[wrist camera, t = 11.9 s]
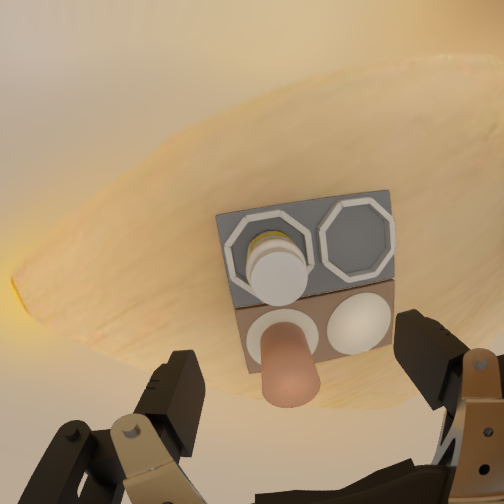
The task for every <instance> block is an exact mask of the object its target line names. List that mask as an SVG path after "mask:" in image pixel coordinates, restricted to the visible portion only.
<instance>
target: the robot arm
mask: <svg viewBox="0 0 504 504" xmlns="http://www.w3.org/2000/svg"><path fill="white" fill-rule="evenodd" d="M394 354H395V357H396V360H397V361H398V362H399V364H400V365H401V366H402V368H403V369H404V371H405V372H406V373H407V375H408V376H409V377H410V379H411V380H412V381H413V383H414V384H415V386H416V387H417V388H418V390H419V391H420V393H421V394H422V395H423V397H424V398H425V400H426V401H427V403H428V404H429V405H430V407H431V408H432V410H433V411H434V410H436V409H438V408H440V407H442V406H444V407H445V408H446V410H445V413H444V417H443V422H442V428H441V432H440V437H439V441H438V445H437V450H436V453H435V456H434V459H433V461H432V463H431V465H418V466H414V464H413V461H412V459H411V458H410V459H407V460H405V461H402V462H400V463H397V464H395V465H392V466H389V467H387V468H384V469H381V470H378V471H376V472H374V473H372V474H370V475H368V476H367V477H365V478H363V479H361V480H359V481H357V482H355V483H353V484H351V485H349V486H347V487H345V488H343V489H340V490H330V491H309V490H307V491H306V490H292V491H284V492H275V493H263V494H255V503H252V504H504V355H500V356H496V355H495V354H494V353H493V352H491V351H489V350H487V349H483V348H476V349H472V350H470V349H469V348H468V347H467V346H466V345H465V344H464V343H462V342H461V341H460V340H459V339H458V338H457V337H456V336H454V335H453V334H451V332H450V331H449V330H447V329H445V327H444V326H443V325H441V324H440V323H439V322H438V321H436V320H433V319H431V318H428V317H426V318H425V317H424V316H423V315H422V314H421V313H419V312H418V311H417V310H416V309H412V310H409V311H405V312H402V313H399V314H397V316H396V323H395V336H394ZM204 398H205V382H204V379H203V376H202V373H201V370H200V367H199V364H198V361H197V358H196V355H195V353H194V351H193V350H180V351H173V352H172V354H171V356H170V359H169V361H168V363H167V364H162V365H161V366H160V367H158V368H157V369H156V370H155V371H154V372H153V374H152V376H151V379H150V382H148V384H147V386H146V389H145V390H144V392H143V394H142V396H141V398H140V401H139V402H138V404H137V406H136V408H135V411H134V412H133V414H128V415H125V416H123V417H121V418H119V419H118V420H116V421H115V422H114V424H113V425H112V427H111V429H107V430H97V431H92V430H91V429H90V428H89V426H88V425H87V424H86V423H85V422H83V421H80V420H74V421H70V422H68V423H65V424H64V425H62V426H61V427H60V428H59V430H58V432H57V433H56V434H55V436H54V438H53V440H52V441H51V443H50V444H49V446H48V448H47V450H46V451H45V453H44V455H43V457H42V458H41V460H40V462H39V464H38V466H37V467H36V469H35V471H34V473H33V475H32V476H31V478H30V480H29V482H28V485H27V486H26V488H25V490H24V492H23V494H22V496H21V498H20V500H19V502H18V504H121V501H122V497H123V494H124V490H125V489H126V492H127V494H128V496H129V498H130V501H131V502H132V504H208V503H207V502H206V501H205V500H204V498H203V497H202V496H201V495H200V494H199V492H198V491H197V489H196V488H195V487H194V486H193V484H192V483H191V481H190V480H189V479H188V477H187V476H186V475H185V473H184V472H183V470H182V469H181V467H180V466H179V465H178V464H179V460H180V457H191V456H192V452H193V448H194V443H195V438H196V434H197V429H198V425H199V420H200V416H201V411H202V407H203V402H204ZM84 472H85V473H86V474H87V475H88V477H87V479H86V481H85V484H84V486H83V489H82V491H81V494H80V497H79V498H78V494H77V490H78V486H79V484H80V482H81V479H82V477H83V475H84Z"/></svg>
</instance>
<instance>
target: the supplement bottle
mask: <svg viewBox="0 0 504 504" xmlns="http://www.w3.org/2000/svg"><path fill="white" fill-rule="evenodd" d="M246 277H247V280H248V282H249V284H250V286H251V287H252V290H253V292H254V293H255V295H256V296H257V297H258V298H259V299H260V300H261V301H262V302H264V303H266V304H268V305H272V306H284V305H288V304H291V303H293V302H294V301H296V300H297V299H298V298H299V297H300V296H301V295H302V294H303V292H304V291H305V288H306V286H307V281H308V274H307V268H306V261H305V258H304V256H303V254H302V252H301V251H300V249H299V248H298V247H297V246H296V244H295V243H294V242H293V241H292V240H291V238H290V237H289V236H288V235H286V234H285V233H283V232H281V231H278V230H265V231H262V232H260V233H258V234H257V235H256V236H255V237H254V238H253V239H252V240H251V242H250V243H249V246H248V250H247V261H246Z"/></svg>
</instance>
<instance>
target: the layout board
mask: <svg viewBox="0 0 504 504" xmlns="http://www.w3.org/2000/svg"><path fill="white" fill-rule="evenodd" d="M216 221H217V226H218V232H219V237H220V242H221V247H222V252H223V257H224V262H225V267H226V272H227V277H228V282H229V286H230V291H231V296H232V300H233V305H234V307H240V306H247V305H253V304H260V303H264V302H262V301H261V300H260V299H259V298H258V297H257V296H256V295H255V293H254V292H253V290H252V287H251V286H250V284H249V282H248V280H247V277H246V261H247V250H248V246H249V243H250V242H251V240H252V239H253V238H254V237H255V236H256V235H257V234H258V233H260V232H262V231H265V230H278V231H281V232H283V233H285V234H286V235H288V236H289V237H290V238H291V240H292V241H293V242H294V243H295V244H296V246H297V247H298V248H299V249H300V251H301V252H302V254H303V256H304V258H305V261H306V268H307V274H308V281H307V286H306V288H305V291H304V292H303V294H302V295H301V296H307V295H312V294H317V293H323V292H328V291H333V290H338V289H343V288H348V287H353V286H357V285H362V284H367V283H371V282H376V281H380V280H384V279H389V278H393V277H394V253H395V251H394V250H396V242H395V225H394V219H393V217H392V213H391V202H390V193H389V190H384V191H375V192H366V193H358V194H350V195H342V196H334V197H327V198H319V199H312V200H305V201H299V202H292V203H285V204H279V205H273V206H267V207H261V208H255V209H249V210H243V211H237V212H231V213H226V214H220V215H216ZM301 296H300V297H301ZM393 313H394V280H393V279H391V280H387V281H382V282H378V283H373V284H369V285H364V286H360V287H355V288H350V289H346V290H341V291H336V292H331V293H326V294H320V295H315V296H310V297H304V298H299V299H297V300H296V301H294V302H293V303H291V304H288V305H284V306H272V305H268V304H263V305H257V306H251V307H244V308H237V309H235V314H236V319H237V323H238V328H239V332H240V337H241V341H242V346H243V350H244V354H245V359H246V363H247V367H248V372H249V374H251V373H258V372H261V373H262V393H263V396H264V398H265V399H266V400H267V401H268V402H269V403H270V404H272V405H274V406H277V407H282V408H293V407H298V406H301V405H304V404H306V403H308V402H309V401H311V400H312V399H313V398H314V397H315V396H316V395H317V393H318V392H319V389H320V379H319V376H318V373H317V370H316V367H315V364H314V363H318V362H322V361H327V360H332V359H336V358H340V357H345V356H349V355H354V354H360V353H363V352H366V351H368V350H372V349H375V348H379V347H382V346H386V345H389V344H391V342H392V329H393Z"/></svg>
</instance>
